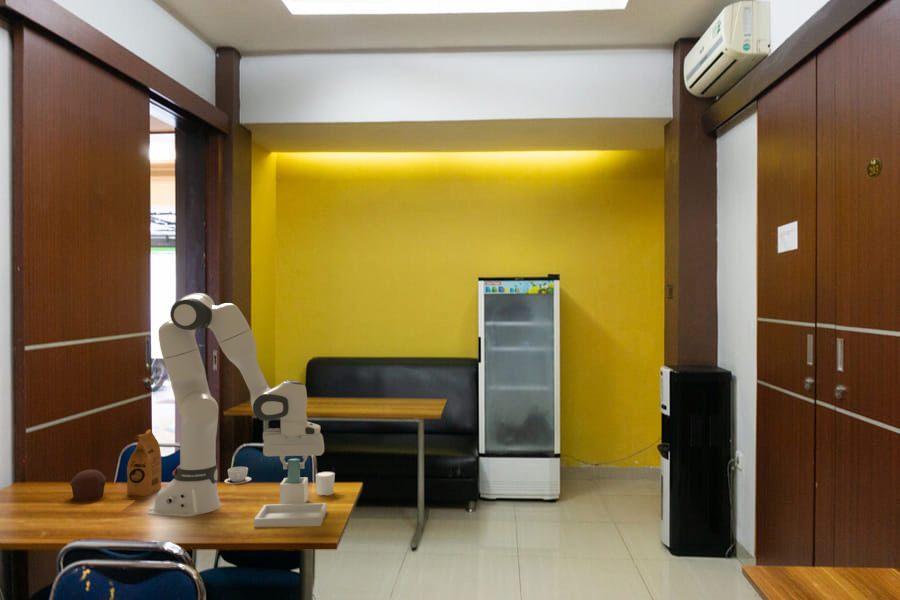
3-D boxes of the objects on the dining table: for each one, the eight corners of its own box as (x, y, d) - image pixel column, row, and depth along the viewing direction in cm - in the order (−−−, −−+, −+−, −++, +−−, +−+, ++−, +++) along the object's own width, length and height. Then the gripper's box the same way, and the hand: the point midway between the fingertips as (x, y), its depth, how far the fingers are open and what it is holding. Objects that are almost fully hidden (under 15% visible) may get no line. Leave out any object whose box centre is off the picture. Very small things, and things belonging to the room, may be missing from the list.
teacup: (223, 479, 248) (223, 467, 248) (250, 476, 252) (250, 464, 252) (224, 486, 239) (224, 473, 239) (252, 483, 242) (252, 471, 242)
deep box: (279, 508, 212) (279, 484, 212) (284, 500, 220) (284, 477, 220) (304, 507, 213) (304, 484, 213) (307, 500, 221) (307, 477, 221)
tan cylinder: (330, 496, 225) (330, 476, 225) (312, 495, 226) (312, 475, 226) (337, 490, 232) (337, 471, 232) (320, 489, 233) (320, 470, 233)
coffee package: (121, 498, 223) (121, 436, 223) (138, 488, 236) (138, 428, 236) (150, 498, 223) (149, 436, 223) (165, 488, 236) (165, 428, 236)
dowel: (286, 503, 214) (286, 461, 214) (289, 499, 218) (289, 458, 218) (298, 502, 215) (298, 461, 215) (300, 499, 219) (300, 458, 219)
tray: (254, 529, 193) (254, 519, 193) (264, 513, 207) (264, 504, 207) (320, 527, 194) (320, 517, 194) (326, 512, 208) (326, 503, 208)
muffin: (100, 503, 218) (100, 474, 218) (64, 506, 215) (64, 476, 215) (110, 493, 230) (110, 465, 230) (76, 495, 227) (76, 467, 227)
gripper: (260, 430, 213) (260, 471, 213) (322, 429, 214) (322, 470, 214) (264, 426, 219) (264, 466, 219) (324, 425, 220) (324, 465, 220)
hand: (293, 468), depth 216 cm, fingers closed on dowel, 4 cm apart
